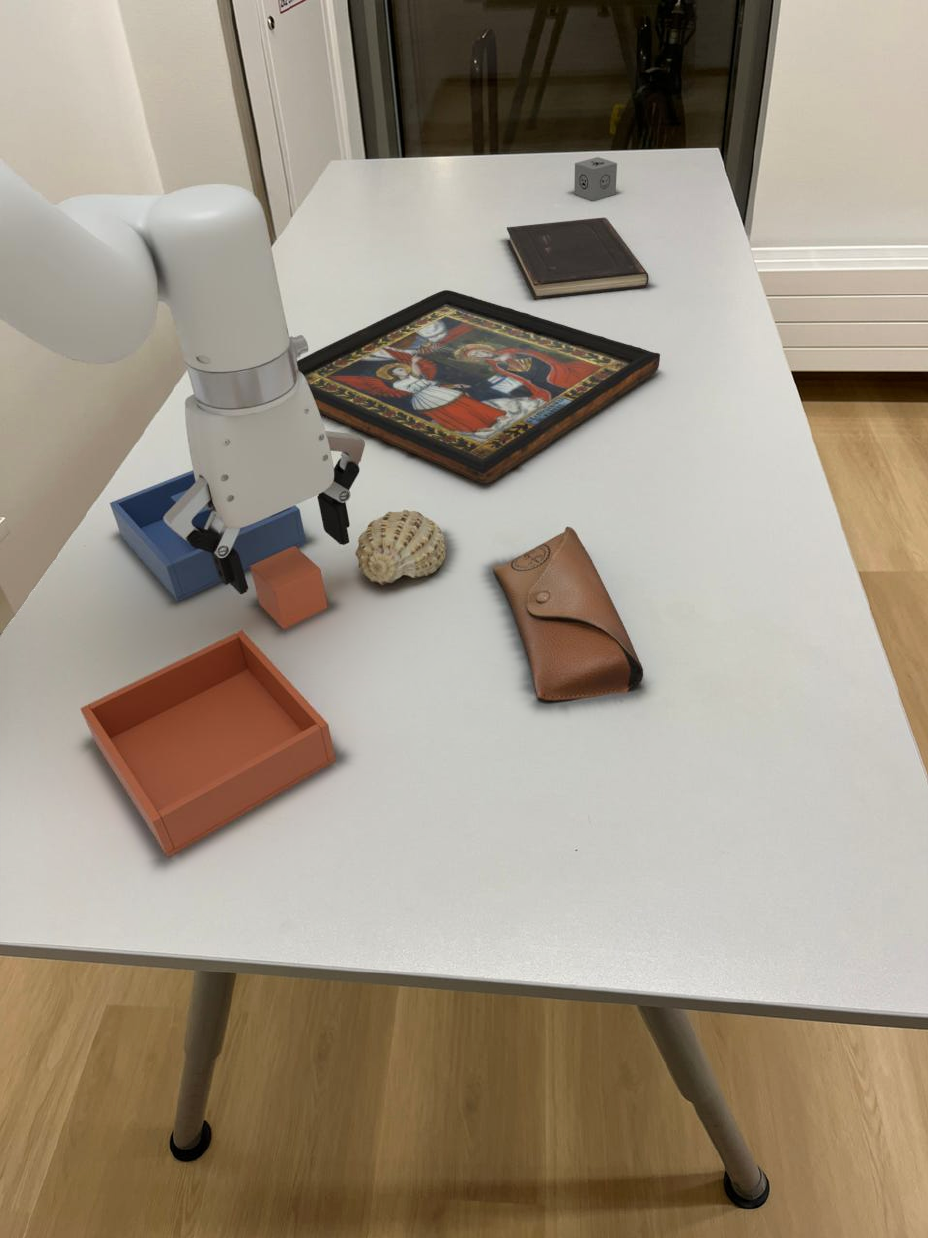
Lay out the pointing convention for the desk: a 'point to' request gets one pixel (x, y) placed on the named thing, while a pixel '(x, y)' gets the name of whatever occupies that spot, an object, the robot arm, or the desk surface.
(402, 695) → the desk surface
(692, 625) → the desk surface
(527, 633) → the sunglasses case
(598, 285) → the hardcover book
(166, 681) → the terracotta bin
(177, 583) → the blue bin
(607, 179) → the dice cube
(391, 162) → the desk surface
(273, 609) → the terracotta block
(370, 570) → the seashell
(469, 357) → the framed icon painting
